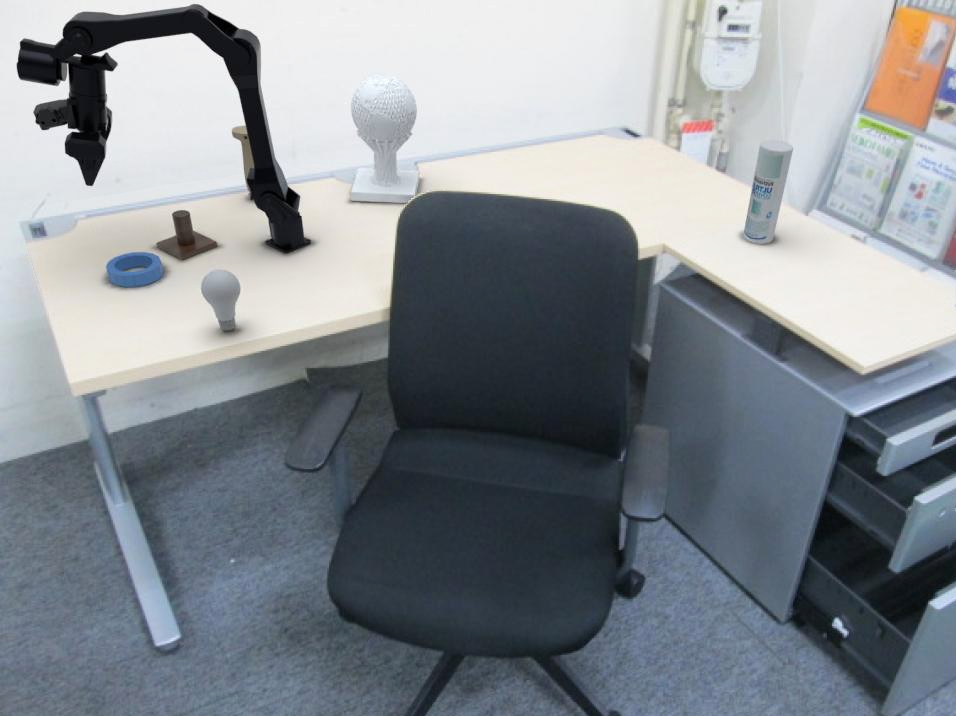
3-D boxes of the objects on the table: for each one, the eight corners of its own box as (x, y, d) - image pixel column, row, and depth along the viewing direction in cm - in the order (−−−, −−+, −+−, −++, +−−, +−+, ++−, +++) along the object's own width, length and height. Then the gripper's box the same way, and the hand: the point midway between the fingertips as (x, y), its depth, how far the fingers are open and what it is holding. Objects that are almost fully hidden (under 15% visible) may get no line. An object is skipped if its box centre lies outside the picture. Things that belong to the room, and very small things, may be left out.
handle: (270, 202, 196) (260, 134, 187) (239, 201, 195) (229, 133, 187) (274, 194, 200) (266, 126, 191) (245, 193, 199) (234, 125, 191)
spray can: (779, 238, 193) (799, 146, 182) (763, 247, 189) (782, 153, 178) (753, 228, 197) (771, 137, 185) (736, 236, 193) (753, 144, 181)
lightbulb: (213, 320, 156) (202, 262, 149) (250, 320, 156) (240, 262, 150) (205, 339, 151) (194, 280, 144) (243, 339, 151) (233, 280, 145)
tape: (173, 274, 168) (170, 262, 167) (128, 292, 162) (125, 280, 161) (144, 258, 173) (141, 247, 171) (99, 275, 167) (96, 264, 165)
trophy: (420, 179, 210) (418, 68, 196) (416, 203, 199) (413, 88, 184) (358, 176, 209) (351, 65, 195) (351, 201, 198) (343, 85, 183)
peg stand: (217, 246, 178) (211, 213, 174) (182, 260, 173) (175, 226, 169) (192, 234, 182) (186, 201, 178) (157, 247, 177) (149, 213, 173)
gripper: (42, 66, 163) (48, 150, 171) (27, 102, 149) (35, 192, 157) (111, 76, 167) (113, 157, 175) (103, 111, 153) (106, 198, 161)
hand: (91, 175), depth 167 cm, fingers open, 9 cm apart
